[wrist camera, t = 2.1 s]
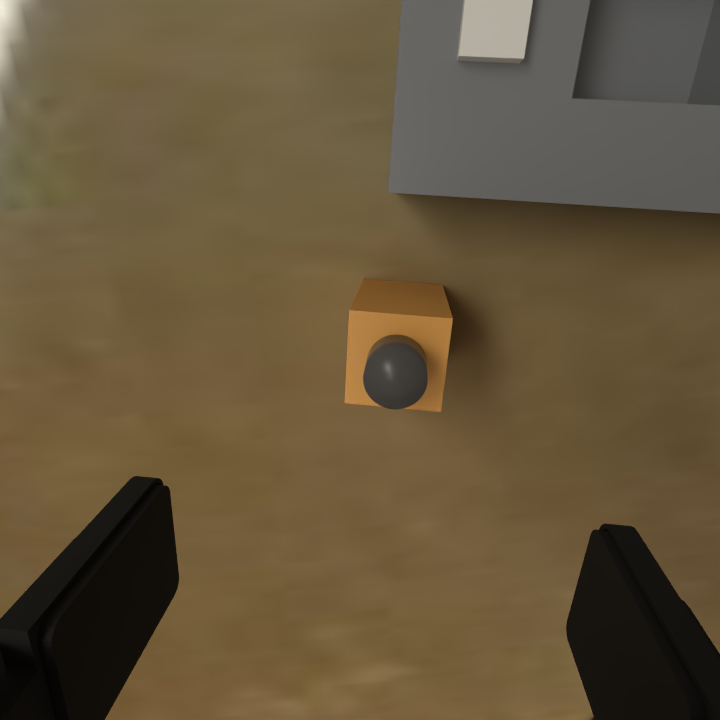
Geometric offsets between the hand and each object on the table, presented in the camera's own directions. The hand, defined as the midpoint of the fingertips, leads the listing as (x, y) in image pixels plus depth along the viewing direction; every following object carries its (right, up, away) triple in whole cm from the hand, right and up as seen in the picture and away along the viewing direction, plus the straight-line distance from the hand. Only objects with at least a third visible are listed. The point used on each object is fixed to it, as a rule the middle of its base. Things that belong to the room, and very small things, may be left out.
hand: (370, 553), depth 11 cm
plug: (+2, +7, +17) cm, 19 cm away
